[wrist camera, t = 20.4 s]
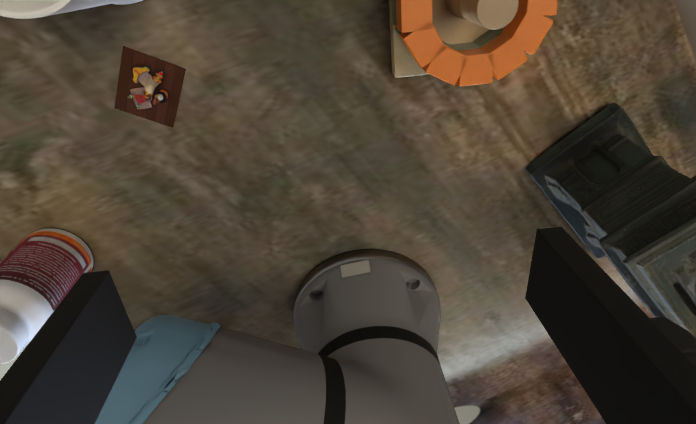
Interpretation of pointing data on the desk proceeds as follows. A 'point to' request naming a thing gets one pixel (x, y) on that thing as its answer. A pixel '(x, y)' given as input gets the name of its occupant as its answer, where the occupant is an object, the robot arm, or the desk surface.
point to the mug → (50, 7)
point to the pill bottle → (37, 284)
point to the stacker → (454, 28)
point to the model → (627, 210)
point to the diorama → (149, 87)
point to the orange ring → (473, 62)
